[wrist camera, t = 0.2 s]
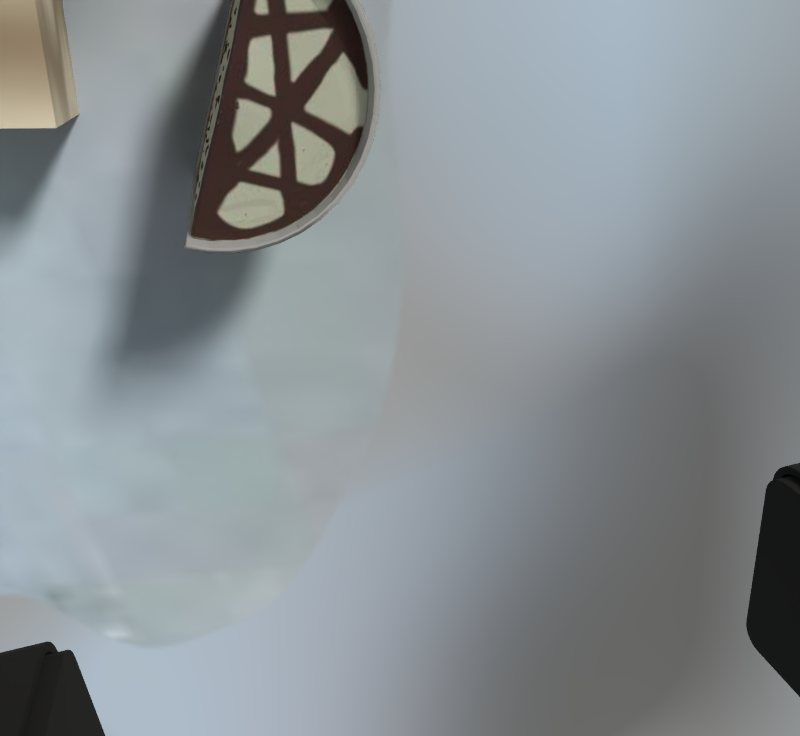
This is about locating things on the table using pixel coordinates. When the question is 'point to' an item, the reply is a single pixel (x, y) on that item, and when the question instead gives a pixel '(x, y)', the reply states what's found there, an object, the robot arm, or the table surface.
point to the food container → (283, 122)
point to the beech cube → (35, 65)
